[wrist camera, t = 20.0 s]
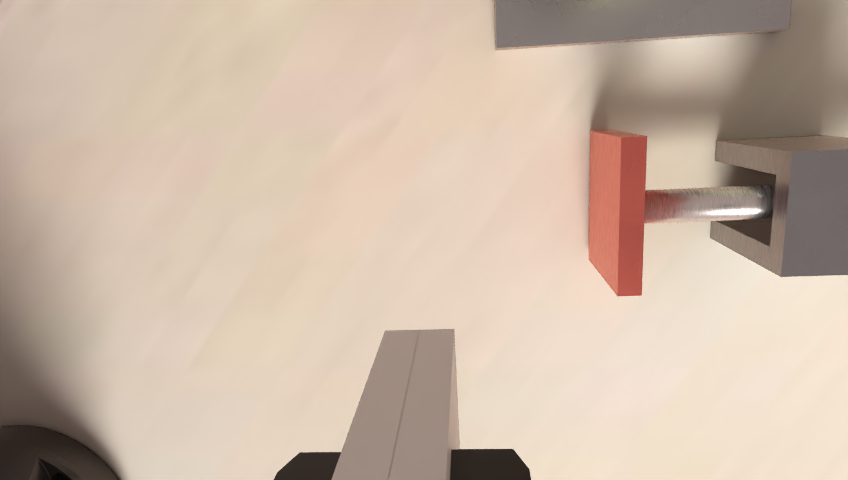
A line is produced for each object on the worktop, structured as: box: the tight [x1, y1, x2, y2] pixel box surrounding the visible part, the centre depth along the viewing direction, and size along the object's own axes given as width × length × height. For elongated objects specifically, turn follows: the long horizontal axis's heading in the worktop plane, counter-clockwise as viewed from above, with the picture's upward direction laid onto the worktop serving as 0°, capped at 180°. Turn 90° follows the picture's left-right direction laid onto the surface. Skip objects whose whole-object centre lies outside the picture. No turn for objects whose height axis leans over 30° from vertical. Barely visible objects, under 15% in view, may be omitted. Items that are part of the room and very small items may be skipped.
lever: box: [589, 130, 775, 296], centre depth 31 cm, size 19×8×7 cm, turn 93°
